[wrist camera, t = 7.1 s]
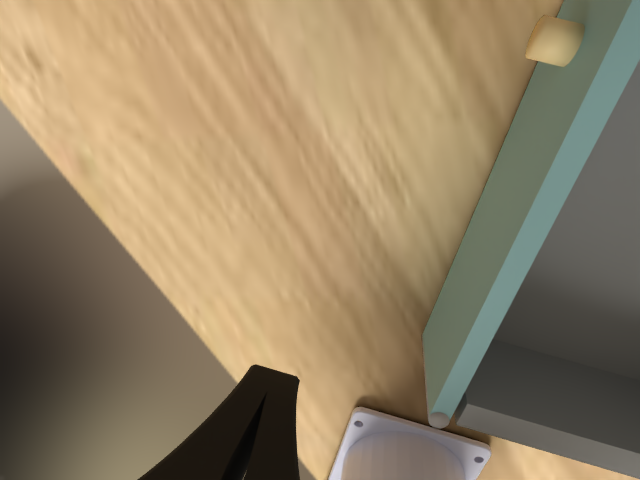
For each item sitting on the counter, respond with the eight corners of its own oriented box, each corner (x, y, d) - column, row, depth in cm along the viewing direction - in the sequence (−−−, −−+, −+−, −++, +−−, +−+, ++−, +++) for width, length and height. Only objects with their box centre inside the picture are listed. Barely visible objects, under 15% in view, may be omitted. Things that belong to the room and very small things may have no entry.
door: (434, 345, 21) (445, 430, 17) (398, 334, 21) (398, 416, 17) (586, 6, 14) (677, -10, 10) (531, -7, 14) (594, -29, 10)
